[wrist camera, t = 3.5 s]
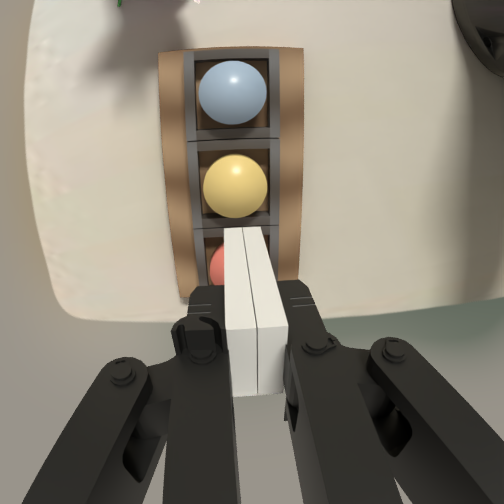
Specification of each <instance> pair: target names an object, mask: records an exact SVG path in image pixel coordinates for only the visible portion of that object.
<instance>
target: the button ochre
mask: <svg viewBox="0 0 504 504" xmlns="http://www.w3.org/2000/svg"><path fill="white" fill-rule="evenodd" d="M203 192H204V196H205V199H206V201H207V203H208V205H209V206H210V207H211V208H212V209H213V210H214V211H215V212H216V213H218V214H220V215H222V216H225V217H228V218H241V217H245V216H248V215H250V214H252V213H253V212H255V211H256V210H257V209H258V208H259V207H260V206H261V204H262V203H263V201H264V199H265V197H266V193H267V181H266V177H265V175H264V173H263V171H262V169H261V167H260V166H259V165H258V164H257V163H256V162H255V161H254V160H253V159H251V158H250V157H248V156H245V155H241V154H229V155H225V156H222V157H220V158H218V159H217V160H216V161H214V162H213V163H212V164H211V166H210V167H209V169H208V170H207V173H206V176H205V179H204V184H203Z"/></svg>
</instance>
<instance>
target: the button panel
mask: <svg viewBox="0 0 504 504" xmlns="http://www.w3.org/2000/svg"><path fill="white" fill-rule="evenodd" d="M226 61H240V62H244V63H246V64H249V65H251V66H252V67H254V68H255V69H256V70H257V71H258V72H259V73H260V74H261V76H262V77H263V79H264V82H265V85H266V91H267V92H266V100H265V103H264V105H263V107H262V109H261V110H260V112H259V113H258V114H257V115H256V116H255V117H253V118H252V119H250V120H249V121H247V122H244V123H240V124H224V123H220V122H218V121H216V120H214V119H212V118H211V117H210V116H209V115H208V114H207V113H206V112H205V111H204V110H203V108H202V106H201V104H200V100H199V86H200V83H201V80H202V78H203V77H204V75H205V74H206V73H207V72H208V71H209V70H210V69H211V68H212V67H214V66H215V65H217V64H219V63H222V62H226ZM158 69H159V99H160V119H161V136H162V150H163V162H164V174H165V184H166V194H167V204H168V213H169V222H170V230H171V238H172V245H173V253H174V260H175V267H176V274H177V280H178V287H179V293H180V297H190V294H191V293H192V292H193V290H194V289H195V288H196V287H197V286H212V285H214V284H213V282H212V280H211V277H210V261H211V257H212V254H213V252H214V251H215V249H216V248H217V247H218V246H219V245H221V244H222V243H224V228H241V227H242V232H243V227H261V231H262V234H263V238H264V241H265V244H266V248H267V251H268V255H269V258H270V262H271V265H272V269H273V273H274V276H275V280H276V281H283V280H298V271H299V254H300V235H301V213H302V187H303V148H304V54H303V48H290V47H260V46H244V47H213V48H198V49H186V50H177V51H168V52H160V53H158ZM229 154H241V155H245V156H248V157H250V158H251V159H253V160H254V161H255V162H256V163H257V164H258V165H259V166H260V167H261V169H262V171H263V173H264V175H265V177H266V181H267V193H266V197H265V199H264V201H263V203H262V204H261V206H260V207H259V208H258V209H257V210H256V211H255V212H253V213H252V214H250V215H248V216H245V217H241V218H228V217H225V216H222V215H220V214H218V213H216V212H215V211H214V210H213V209H212V208H211V207H210V206H209V205H208V203H207V201H206V199H205V196H204V192H203V184H204V179H205V176H206V173H207V170H208V169H209V167H210V166H211V164H212V163H213V162H214V161H216V160H217V159H218V158H220V157H222V156H225V155H229Z"/></svg>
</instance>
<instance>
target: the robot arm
mask: <svg viewBox="0 0 504 504" xmlns="http://www.w3.org/2000/svg"><path fill="white" fill-rule="evenodd" d="M452 1H453V7H454V11H455V15H456V18H457V21H458V24H459V26H460V29H461V31H462V33H463V35H464V37H465V39H466V41H467V42H468V44H469V46H470V47H471V49H472V50H473V52H474V53H475V55H476V56H477V57H478V59H479V60H480V61H481V62H482V63H483V64H484V65H485V66H486V67H487V68H488V69H489V70H491V71H492V72H493V73H495V74H497V75H499V76H502V77H504V0H452ZM224 284H225V285H212V286H197V287H196V288H195V289H194V290H193V292H192V293H191V294H190V298H189V306H188V312H187V313H188V314H187V316H186V317H184V318H181V319H180V320H179V321H177V322H176V323H175V324H174V325H173V328H172V330H171V334H172V339H173V343H174V347H175V351H176V356H175V357H174V358H172V359H170V360H168V361H166V362H163V363H160V364H156V365H152V366H148V367H146V365H145V364H144V363H143V362H142V361H141V360H138V359H136V358H133V357H122V358H118V359H115V360H113V361H111V362H109V363H107V364H106V365H105V366H104V367H103V368H102V369H101V371H100V373H99V374H98V376H97V377H96V379H95V380H94V382H93V383H92V385H91V387H90V388H89V389H88V391H87V393H86V394H85V396H84V397H83V399H82V401H81V402H80V404H79V405H78V407H77V408H76V410H75V412H74V413H73V415H72V417H71V418H70V420H69V421H68V423H67V425H66V426H65V428H64V430H63V431H62V433H61V435H60V436H59V438H58V440H57V441H56V443H55V445H54V446H53V448H52V450H51V452H50V453H49V455H48V457H47V459H46V460H45V462H44V464H43V466H42V467H41V469H40V471H39V473H38V475H37V476H36V478H35V480H34V482H33V483H32V485H31V487H30V489H29V491H28V493H27V494H26V496H25V498H24V500H23V502H22V504H142V503H143V500H144V498H145V495H146V493H147V490H148V487H149V485H150V482H151V479H152V477H153V474H154V471H155V469H156V467H157V464H158V461H159V459H160V456H161V453H162V451H163V448H164V446H165V443H166V441H167V446H166V458H165V473H164V487H163V504H241V497H240V485H239V472H238V461H237V447H236V433H235V419H234V407H233V397H239V396H253V395H257V390H258V395H267V394H278V393H283V389H284V387H285V392H286V405H285V414H284V421H288V423H289V429H290V434H291V439H292V444H293V449H294V455H295V460H296V466H297V471H298V476H299V482H300V487H301V492H302V497H303V503H304V504H403V502H402V499H401V496H400V494H399V491H398V488H397V485H396V482H395V480H394V478H395V479H396V481H397V482H398V484H399V485H400V486H401V488H402V489H403V491H404V492H405V493H406V495H407V496H408V498H409V499H410V501H411V502H412V503H413V504H504V441H503V440H502V439H501V438H500V437H499V436H498V434H497V433H496V432H495V431H494V430H493V429H492V428H491V427H490V426H489V425H488V424H487V423H486V422H485V420H484V419H483V418H482V417H481V416H480V415H479V414H478V413H477V412H476V411H475V410H474V409H473V408H472V406H471V405H470V404H469V403H468V402H467V401H466V400H465V399H464V398H463V397H462V396H461V395H460V394H459V393H458V392H457V391H456V390H455V389H454V388H453V387H452V386H451V385H450V384H449V383H448V382H447V381H446V379H445V378H444V377H443V376H441V374H440V373H439V372H437V370H436V369H435V368H434V367H433V366H432V365H431V364H430V363H428V361H427V360H426V359H425V358H424V357H423V356H422V355H421V354H420V353H419V352H418V351H417V350H416V349H414V347H413V346H412V345H410V344H409V343H407V342H406V341H404V340H402V339H399V338H393V337H386V338H381V339H379V340H377V341H376V342H374V344H373V345H372V347H371V349H370V350H365V349H355V348H349V347H345V346H343V345H341V344H340V342H339V341H338V339H337V338H336V337H334V336H333V335H331V334H330V333H328V332H326V329H325V326H324V324H323V322H322V319H321V317H320V314H319V312H318V309H317V307H316V305H315V302H314V300H313V298H312V295H311V293H310V291H309V288H308V287H307V286H306V285H305V284H304V283H303V282H301V281H300V280H299V279H298V280H283V281H276V280H275V276H274V273H273V269H272V265H271V262H270V258H269V255H268V251H267V248H266V244H265V241H264V238H263V234H262V231H261V227H243V232H242V227H241V228H224Z"/></svg>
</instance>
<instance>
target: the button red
mask: <svg viewBox="0 0 504 504" xmlns="http://www.w3.org/2000/svg"><path fill="white" fill-rule="evenodd" d="M210 277H211V280H212V282H213V284H214V285H225V284H224V243H222V244H221V245H219V246H218V247H217V248H216V249H215V251H214V252H213V254H212V257H211V261H210Z"/></svg>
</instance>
